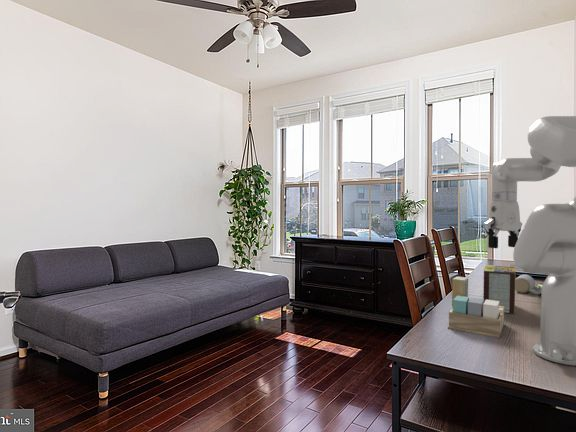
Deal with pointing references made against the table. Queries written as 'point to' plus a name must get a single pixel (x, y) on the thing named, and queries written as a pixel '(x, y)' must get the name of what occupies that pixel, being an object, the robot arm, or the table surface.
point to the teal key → (460, 304)
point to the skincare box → (459, 287)
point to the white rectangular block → (491, 309)
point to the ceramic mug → (526, 284)
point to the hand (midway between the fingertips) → (503, 247)
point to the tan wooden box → (477, 323)
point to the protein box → (500, 286)
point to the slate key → (475, 307)
